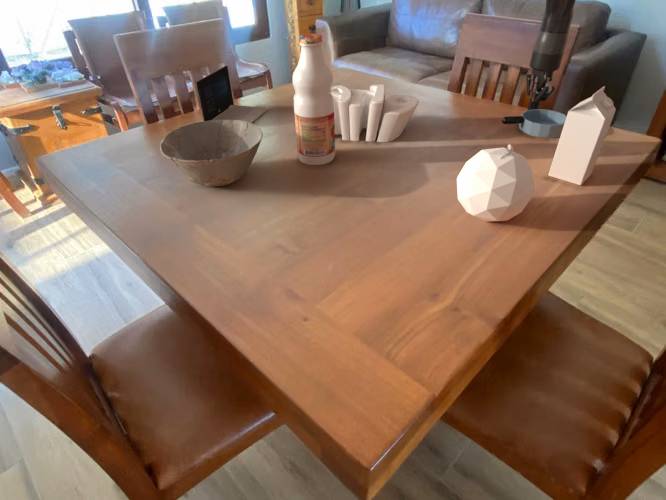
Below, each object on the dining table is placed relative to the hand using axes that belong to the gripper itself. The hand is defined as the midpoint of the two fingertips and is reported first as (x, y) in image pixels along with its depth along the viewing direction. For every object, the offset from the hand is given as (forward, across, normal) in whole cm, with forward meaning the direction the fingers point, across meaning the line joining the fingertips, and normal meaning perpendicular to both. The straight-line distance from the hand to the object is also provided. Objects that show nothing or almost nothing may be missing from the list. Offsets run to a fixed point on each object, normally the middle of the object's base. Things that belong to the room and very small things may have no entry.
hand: (531, 113), depth 123 cm
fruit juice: (+2, -19, +63) cm, 66 cm away
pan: (+2, -8, +3) cm, 9 cm away
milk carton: (+1, -34, +6) cm, 35 cm away
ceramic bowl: (+2, -27, +86) cm, 90 cm away
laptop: (+2, +11, +86) cm, 87 cm away
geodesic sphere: (+1, -49, +30) cm, 57 cm away
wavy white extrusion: (+2, -2, +52) cm, 52 cm away
